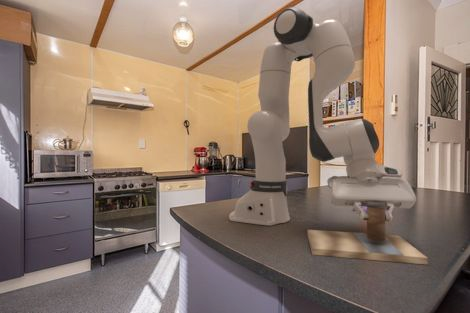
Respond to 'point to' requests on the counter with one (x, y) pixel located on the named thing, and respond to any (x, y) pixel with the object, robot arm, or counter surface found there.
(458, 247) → the counter surface
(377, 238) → the peg
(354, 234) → the plywood board
